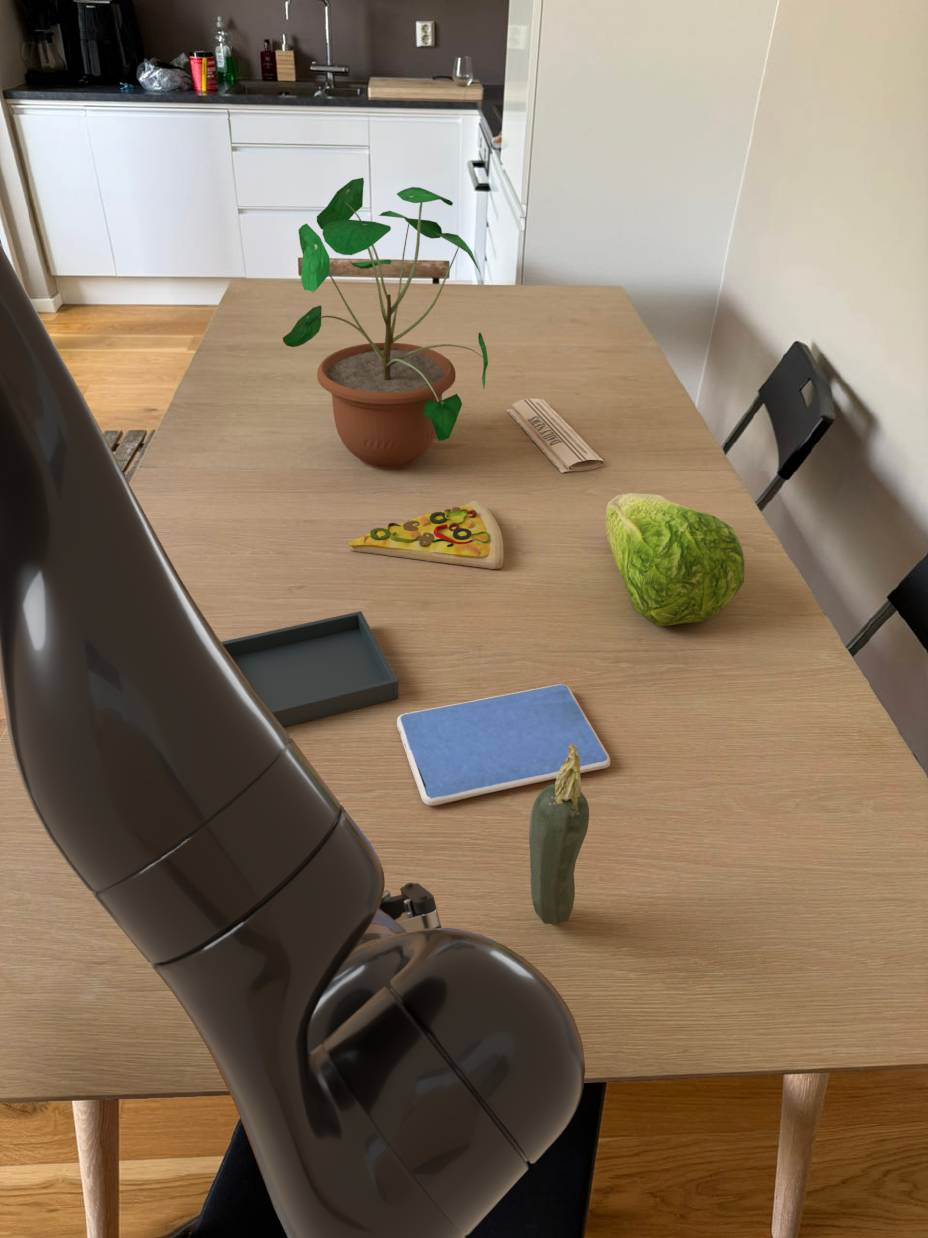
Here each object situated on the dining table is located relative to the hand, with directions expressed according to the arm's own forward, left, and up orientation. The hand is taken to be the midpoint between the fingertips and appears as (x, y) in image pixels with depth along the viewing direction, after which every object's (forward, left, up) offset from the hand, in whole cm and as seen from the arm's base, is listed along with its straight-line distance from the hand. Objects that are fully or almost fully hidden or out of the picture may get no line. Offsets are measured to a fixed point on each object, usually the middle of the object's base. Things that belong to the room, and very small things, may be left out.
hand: (303, 924), depth 59 cm
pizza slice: (+31, +60, -13) cm, 69 cm away
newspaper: (+62, +83, -13) cm, 104 cm away
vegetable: (+20, +2, -13) cm, 24 cm away
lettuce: (+56, +42, -13) cm, 71 cm away
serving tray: (+9, +39, -13) cm, 42 cm away
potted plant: (+37, +89, -13) cm, 97 cm away
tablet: (+25, +22, -13) cm, 36 cm away
